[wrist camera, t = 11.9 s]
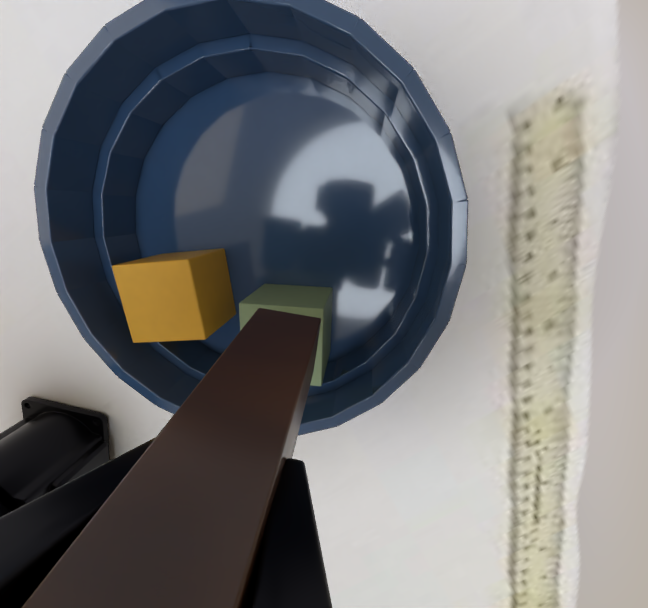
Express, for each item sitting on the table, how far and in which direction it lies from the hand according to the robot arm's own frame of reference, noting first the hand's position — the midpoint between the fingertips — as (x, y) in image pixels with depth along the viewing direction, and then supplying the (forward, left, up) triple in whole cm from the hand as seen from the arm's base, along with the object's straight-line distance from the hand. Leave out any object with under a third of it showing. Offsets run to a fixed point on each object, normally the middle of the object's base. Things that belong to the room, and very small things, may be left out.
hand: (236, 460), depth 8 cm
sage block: (-1, -1, -12) cm, 12 cm away
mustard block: (-7, 0, -12) cm, 14 cm away
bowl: (-3, +3, -13) cm, 13 cm away
